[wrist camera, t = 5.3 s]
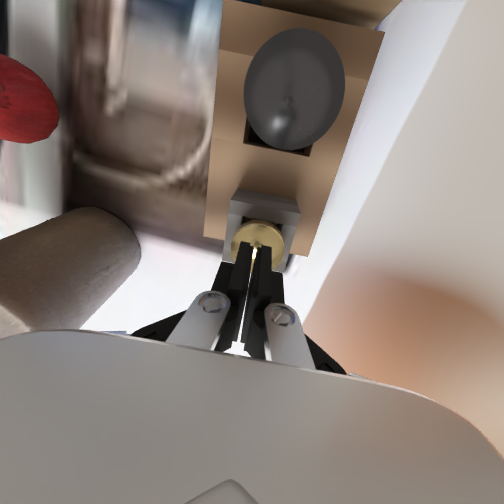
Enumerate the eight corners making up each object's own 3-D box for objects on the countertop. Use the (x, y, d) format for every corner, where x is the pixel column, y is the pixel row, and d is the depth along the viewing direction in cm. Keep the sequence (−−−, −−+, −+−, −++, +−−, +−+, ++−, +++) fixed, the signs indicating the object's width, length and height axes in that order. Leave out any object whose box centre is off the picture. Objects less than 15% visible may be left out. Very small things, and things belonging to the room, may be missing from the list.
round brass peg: (242, 202, 18) (234, 221, 14) (286, 211, 18) (290, 232, 14) (235, 242, 20) (227, 268, 16) (276, 250, 20) (277, 278, 16)
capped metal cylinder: (264, 81, 19) (253, 17, 8) (311, 91, 19) (361, 40, 8) (255, 135, 21) (236, 140, 10) (298, 144, 21) (325, 158, 10)
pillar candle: (45, 211, 26) (-187, 297, 13) (122, 200, 25) (-51, 285, 11) (87, 280, 30) (-54, 396, 17) (154, 275, 29) (56, 396, 16)
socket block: (233, 25, 17) (208, -43, 11) (362, 52, 17) (418, 2, 11) (213, 221, 25) (191, 254, 18) (302, 238, 25) (313, 278, 18)
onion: (18, 50, 19) (-131, 2, 12) (86, 91, 20) (-15, 69, 13) (16, 119, 22) (-109, 114, 15) (76, 153, 23) (-13, 162, 16)
